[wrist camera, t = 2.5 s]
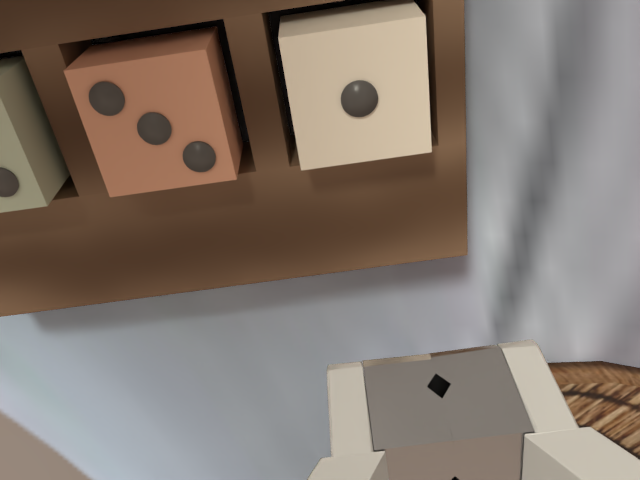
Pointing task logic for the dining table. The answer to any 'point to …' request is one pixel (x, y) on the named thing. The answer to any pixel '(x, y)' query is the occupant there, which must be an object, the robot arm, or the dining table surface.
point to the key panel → (228, 196)
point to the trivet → (603, 399)
